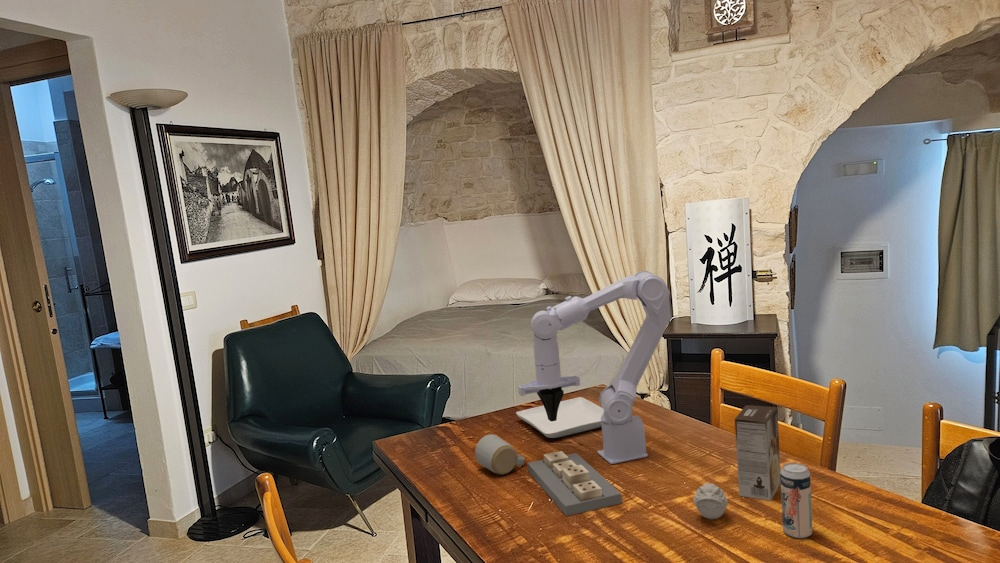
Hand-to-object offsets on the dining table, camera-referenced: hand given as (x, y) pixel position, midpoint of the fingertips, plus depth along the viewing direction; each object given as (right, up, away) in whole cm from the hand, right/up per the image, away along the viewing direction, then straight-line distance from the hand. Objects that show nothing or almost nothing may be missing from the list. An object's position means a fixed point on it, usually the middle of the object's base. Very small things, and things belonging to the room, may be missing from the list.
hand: (552, 419), depth 158 cm
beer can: (+40, -12, -40) cm, 58 cm away
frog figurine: (+27, -12, -32) cm, 44 cm away
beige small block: (+4, -11, -16) cm, 19 cm away
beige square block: (+6, -12, -21) cm, 25 cm away
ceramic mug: (-12, -12, +1) cm, 16 cm away
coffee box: (+40, -10, -22) cm, 47 cm away
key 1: (+1, -10, -4) cm, 11 cm away
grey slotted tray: (+3, -12, -13) cm, 17 cm away
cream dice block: (+2, -11, -10) cm, 15 cm away
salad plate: (+6, -7, +26) cm, 28 cm away
